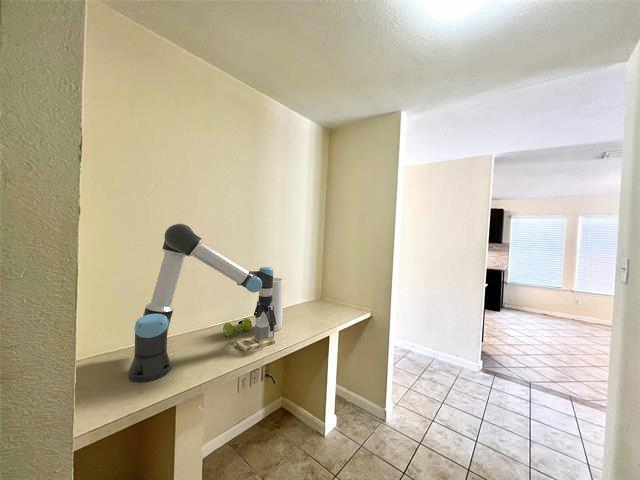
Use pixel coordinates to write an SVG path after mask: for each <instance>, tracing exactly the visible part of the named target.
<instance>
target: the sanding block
mask: <svg viewBox="0 0 640 480" xmlns="http://www.w3.org/2000/svg"><path fill="white" fill-rule="evenodd" d="M268 325H269V322H265V323H260V324H256V323H255V324H254V334H253V335H254V336H253V337H254V339H255V340H257V341H258V342H259V343H260V342H264V341H267V340H271V339H275V331H274V328H273V336H272V337H269V338H268ZM274 327H275V325H274Z"/></svg>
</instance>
